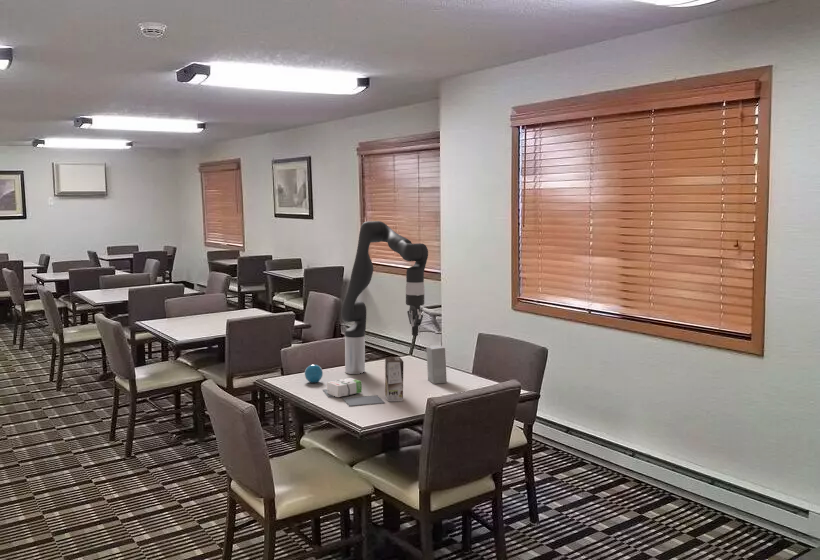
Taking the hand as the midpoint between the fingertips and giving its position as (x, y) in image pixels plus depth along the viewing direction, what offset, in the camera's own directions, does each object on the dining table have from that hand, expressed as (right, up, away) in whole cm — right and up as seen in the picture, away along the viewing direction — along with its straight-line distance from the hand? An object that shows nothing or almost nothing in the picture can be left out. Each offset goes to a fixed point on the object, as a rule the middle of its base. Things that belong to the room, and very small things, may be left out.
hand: (414, 335), depth 278 cm
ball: (-44, -23, +24) cm, 56 cm away
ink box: (-24, -21, +9) cm, 34 cm away
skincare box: (+10, -23, +27) cm, 37 cm away
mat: (-25, -25, +2) cm, 36 cm away
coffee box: (-8, -26, 0) cm, 27 cm away
